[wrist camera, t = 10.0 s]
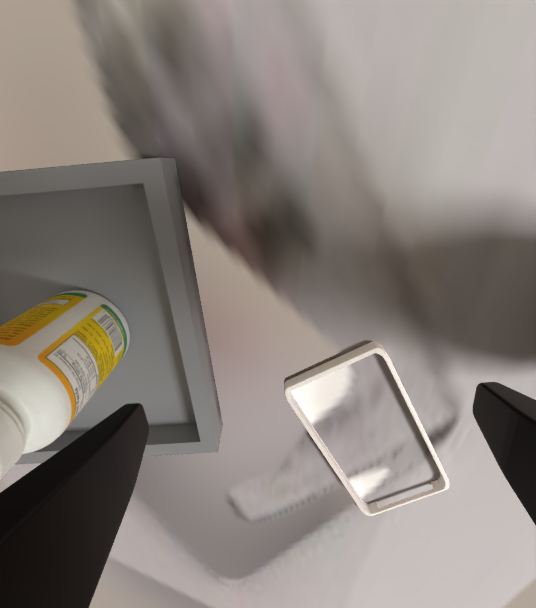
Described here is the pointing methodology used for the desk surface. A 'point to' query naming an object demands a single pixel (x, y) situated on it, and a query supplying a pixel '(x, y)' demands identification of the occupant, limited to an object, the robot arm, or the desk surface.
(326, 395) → the phone case
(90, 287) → the tray
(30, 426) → the supplement bottle
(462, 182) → the desk surface
